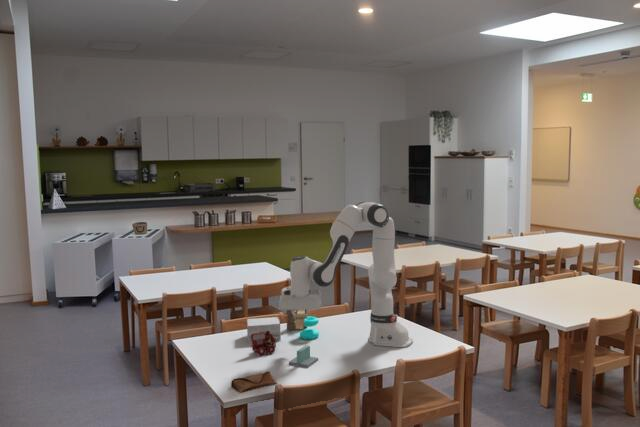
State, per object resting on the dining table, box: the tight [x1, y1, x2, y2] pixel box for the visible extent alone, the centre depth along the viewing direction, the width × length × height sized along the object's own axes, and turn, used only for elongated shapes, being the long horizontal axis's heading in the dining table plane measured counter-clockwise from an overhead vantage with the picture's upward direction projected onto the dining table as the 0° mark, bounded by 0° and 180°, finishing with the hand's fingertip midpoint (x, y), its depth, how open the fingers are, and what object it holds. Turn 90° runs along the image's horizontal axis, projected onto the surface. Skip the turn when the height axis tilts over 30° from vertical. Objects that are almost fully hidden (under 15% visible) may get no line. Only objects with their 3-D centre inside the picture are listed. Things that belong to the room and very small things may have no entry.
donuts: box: [299, 315, 320, 340], centre depth 301 cm, size 10×10×10 cm
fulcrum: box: [288, 345, 319, 369], centre depth 264 cm, size 10×10×7 cm
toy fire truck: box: [251, 331, 277, 357], centre depth 279 cm, size 7×12×10 cm, turn 118°
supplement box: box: [246, 316, 282, 344], centre depth 301 cm, size 17×13×9 cm
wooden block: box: [286, 310, 308, 331], centre depth 315 cm, size 4×11×18 cm, turn 112°
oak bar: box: [294, 310, 305, 330], centre depth 274 cm, size 20×4×4 cm, turn 179°
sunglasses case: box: [230, 371, 278, 394], centre depth 240 cm, size 18×7×7 cm
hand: (300, 318), depth 274 cm, fingers closed on oak bar, 4 cm apart
